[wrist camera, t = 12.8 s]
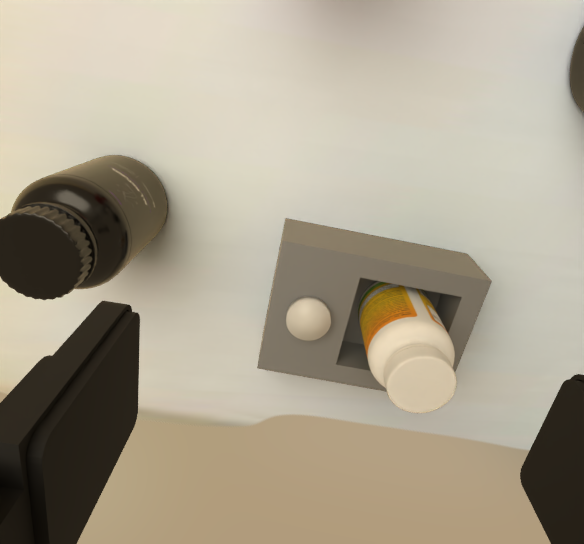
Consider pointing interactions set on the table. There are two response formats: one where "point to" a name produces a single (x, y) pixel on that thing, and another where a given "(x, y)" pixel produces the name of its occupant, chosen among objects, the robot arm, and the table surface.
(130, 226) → the supplement bottle
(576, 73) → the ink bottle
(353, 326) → the grey hollow block
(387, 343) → the supplement bottle
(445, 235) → the table surface
